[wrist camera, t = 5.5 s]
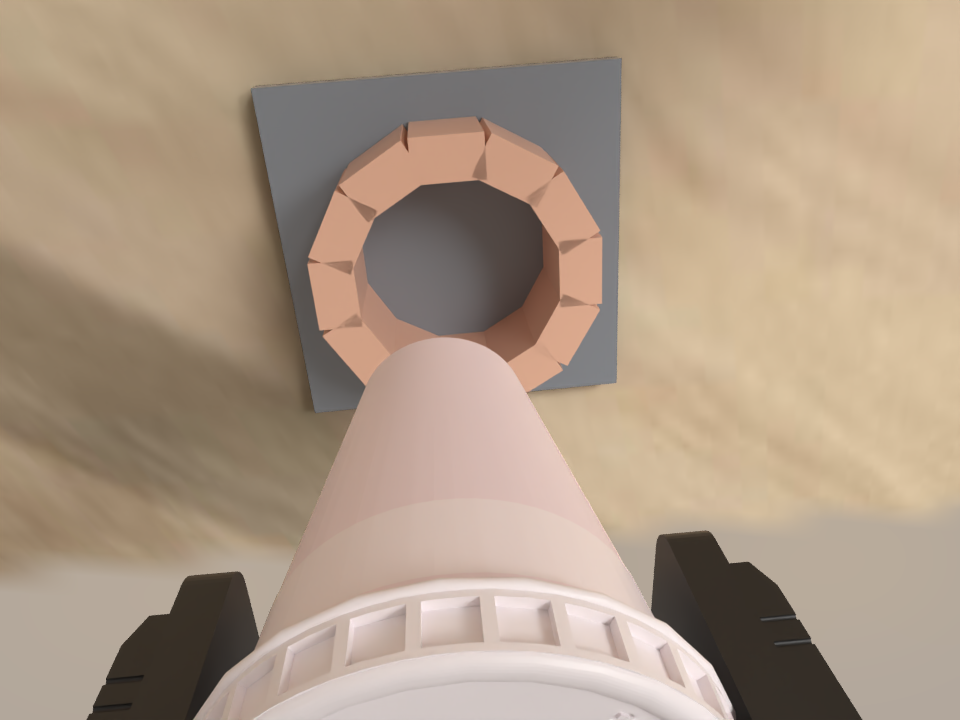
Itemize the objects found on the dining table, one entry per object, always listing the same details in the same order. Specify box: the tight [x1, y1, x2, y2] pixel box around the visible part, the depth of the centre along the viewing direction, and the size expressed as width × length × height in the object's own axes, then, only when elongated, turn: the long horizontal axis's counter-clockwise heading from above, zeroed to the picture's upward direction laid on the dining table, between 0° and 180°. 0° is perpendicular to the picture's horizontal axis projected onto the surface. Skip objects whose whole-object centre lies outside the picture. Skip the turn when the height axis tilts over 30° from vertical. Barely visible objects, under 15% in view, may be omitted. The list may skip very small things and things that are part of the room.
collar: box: [251, 57, 622, 413], centre depth 29 cm, size 14×14×5 cm
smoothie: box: [193, 337, 736, 720], centre depth 10 cm, size 6×6×14 cm
